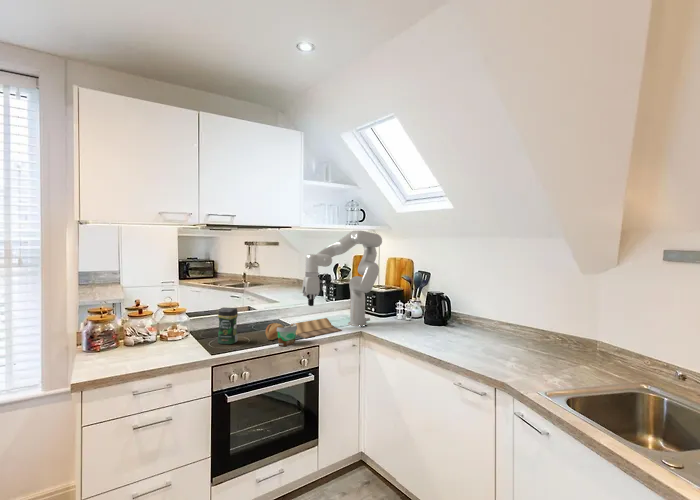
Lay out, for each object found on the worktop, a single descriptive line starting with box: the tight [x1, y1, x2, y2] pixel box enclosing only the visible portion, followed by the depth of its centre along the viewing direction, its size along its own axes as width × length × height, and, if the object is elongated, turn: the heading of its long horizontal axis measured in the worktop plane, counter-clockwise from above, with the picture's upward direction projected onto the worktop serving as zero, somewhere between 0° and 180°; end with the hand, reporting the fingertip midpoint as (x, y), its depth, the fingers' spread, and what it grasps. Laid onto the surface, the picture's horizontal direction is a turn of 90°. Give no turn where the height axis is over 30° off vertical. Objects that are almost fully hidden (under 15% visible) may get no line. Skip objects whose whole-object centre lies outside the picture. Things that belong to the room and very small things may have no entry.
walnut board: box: [297, 326, 343, 339], centre depth 208 cm, size 26×8×2 cm, turn 131°
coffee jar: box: [217, 307, 239, 345], centre depth 189 cm, size 10×8×19 cm
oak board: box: [290, 317, 334, 336], centre depth 213 cm, size 26×8×2 cm
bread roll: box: [265, 322, 284, 341], centre depth 199 cm, size 10×15×8 cm, turn 171°
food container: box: [277, 322, 297, 348], centre depth 186 cm, size 12×6×10 cm, turn 143°
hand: (310, 305), depth 214 cm, fingers closed
